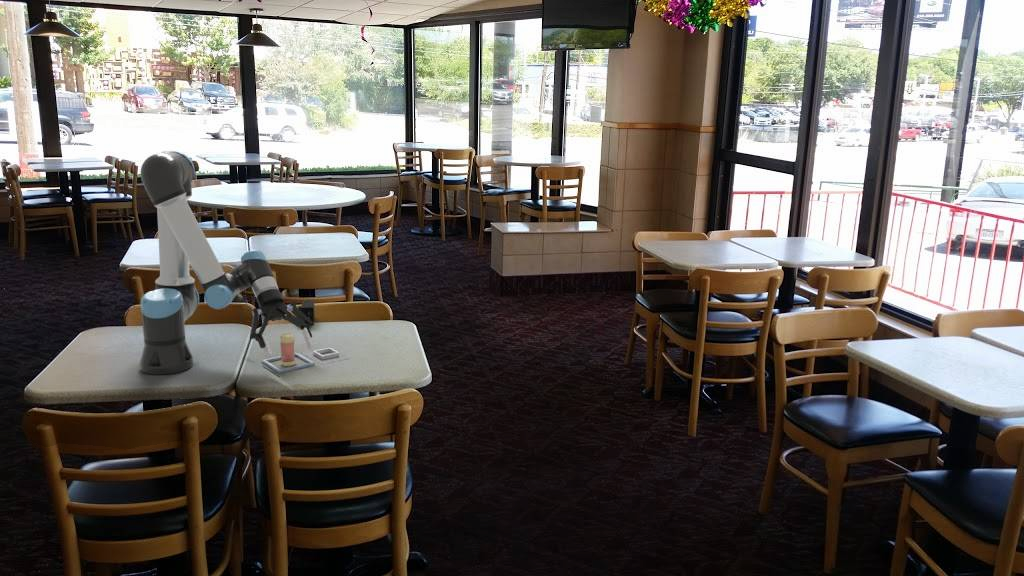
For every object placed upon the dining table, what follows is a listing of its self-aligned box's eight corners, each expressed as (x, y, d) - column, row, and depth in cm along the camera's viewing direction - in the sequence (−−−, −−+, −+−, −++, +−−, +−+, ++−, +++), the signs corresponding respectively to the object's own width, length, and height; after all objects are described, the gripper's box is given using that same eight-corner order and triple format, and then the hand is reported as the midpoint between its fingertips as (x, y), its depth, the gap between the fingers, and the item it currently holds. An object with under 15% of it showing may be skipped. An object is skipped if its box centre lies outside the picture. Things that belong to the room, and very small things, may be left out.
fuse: (284, 369, 243) (283, 338, 241) (279, 365, 246) (277, 335, 244) (297, 366, 246) (296, 336, 243) (291, 363, 249) (290, 332, 246)
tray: (278, 377, 238) (278, 370, 238) (262, 366, 247) (261, 360, 246) (314, 369, 246) (314, 362, 245) (297, 359, 254) (297, 352, 254)
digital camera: (299, 317, 299) (299, 300, 297) (314, 317, 300) (314, 299, 298) (298, 325, 289) (298, 307, 287) (314, 325, 290) (313, 307, 289)
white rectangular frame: (322, 369, 246) (322, 360, 245) (301, 356, 256) (301, 349, 256) (351, 362, 253) (350, 354, 252) (329, 351, 263) (329, 343, 262)
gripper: (300, 294, 261) (323, 349, 254) (226, 306, 245) (248, 365, 238) (307, 282, 256) (331, 338, 248) (231, 293, 240) (254, 353, 232)
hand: (291, 351), depth 243 cm, fingers open, 13 cm apart
